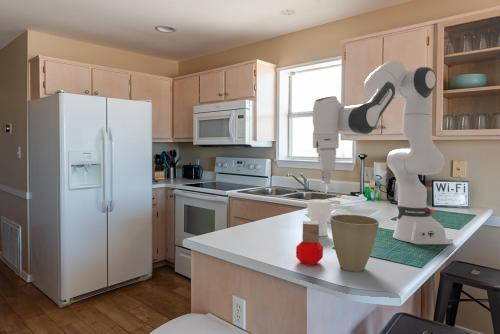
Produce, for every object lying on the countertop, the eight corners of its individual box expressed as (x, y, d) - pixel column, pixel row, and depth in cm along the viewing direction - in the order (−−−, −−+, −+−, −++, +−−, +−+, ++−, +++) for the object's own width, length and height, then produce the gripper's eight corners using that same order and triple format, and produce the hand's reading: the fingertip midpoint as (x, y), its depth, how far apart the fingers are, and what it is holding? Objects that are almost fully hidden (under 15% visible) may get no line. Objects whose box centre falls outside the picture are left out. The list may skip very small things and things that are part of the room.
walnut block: (302, 238, 118) (302, 220, 118) (317, 238, 118) (317, 221, 117) (302, 242, 113) (303, 223, 113) (318, 242, 113) (319, 224, 112)
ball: (301, 257, 121) (301, 236, 121) (324, 261, 118) (324, 239, 117) (293, 264, 114) (294, 241, 114) (317, 268, 110) (318, 245, 110)
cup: (331, 238, 148) (332, 203, 148) (306, 236, 151) (307, 202, 150) (330, 232, 159) (331, 199, 158) (307, 230, 161) (308, 198, 160)
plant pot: (325, 272, 107) (327, 221, 106) (332, 258, 121) (333, 213, 120) (376, 279, 102) (378, 225, 101) (377, 264, 116) (379, 216, 115)
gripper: (314, 143, 132) (314, 179, 133) (318, 143, 111) (318, 186, 112) (331, 142, 131) (331, 179, 132) (338, 143, 111) (338, 186, 112)
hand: (325, 182), depth 122 cm, fingers open, 8 cm apart
